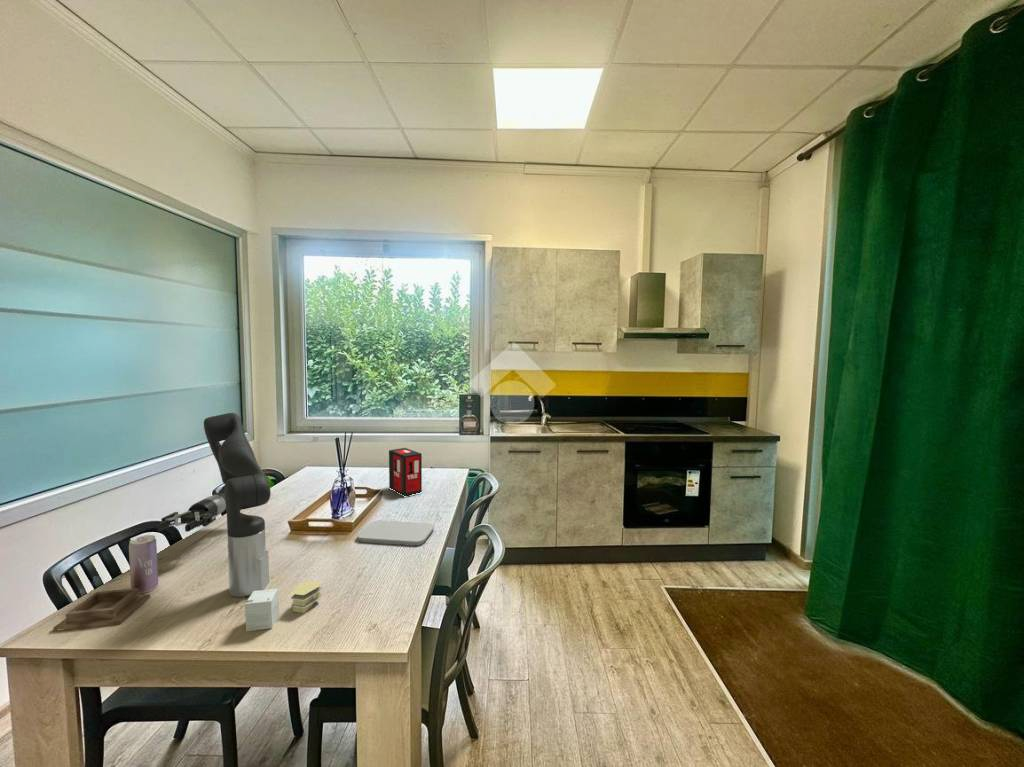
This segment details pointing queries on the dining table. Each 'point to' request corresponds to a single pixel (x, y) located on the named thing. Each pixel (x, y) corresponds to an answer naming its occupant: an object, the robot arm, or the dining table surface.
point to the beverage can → (143, 563)
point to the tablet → (395, 532)
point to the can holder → (103, 609)
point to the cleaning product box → (405, 471)
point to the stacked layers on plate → (306, 596)
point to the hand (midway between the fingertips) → (172, 528)
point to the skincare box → (262, 609)
